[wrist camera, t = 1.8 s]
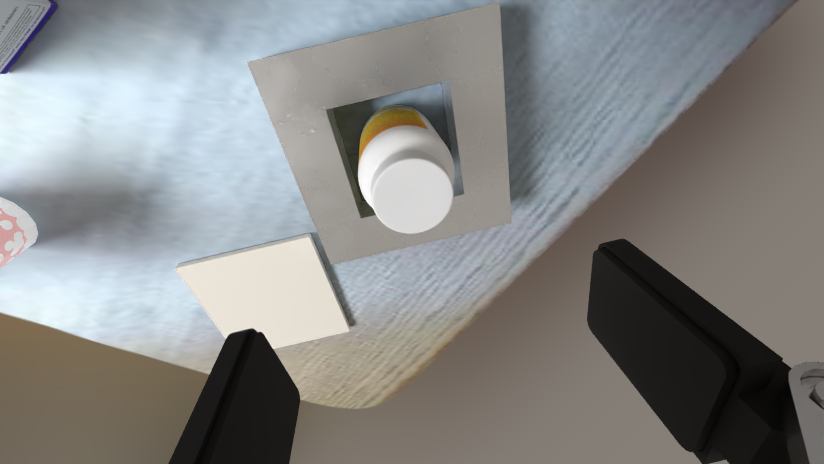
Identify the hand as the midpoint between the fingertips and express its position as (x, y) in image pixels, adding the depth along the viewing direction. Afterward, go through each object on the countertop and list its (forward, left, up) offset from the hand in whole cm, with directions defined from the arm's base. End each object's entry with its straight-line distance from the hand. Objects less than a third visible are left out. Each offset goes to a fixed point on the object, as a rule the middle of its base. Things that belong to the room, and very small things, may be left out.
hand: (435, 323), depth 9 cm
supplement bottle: (0, 0, -18) cm, 18 cm away
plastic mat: (+14, +11, -17) cm, 25 cm away
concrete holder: (0, 0, -17) cm, 17 cm away
